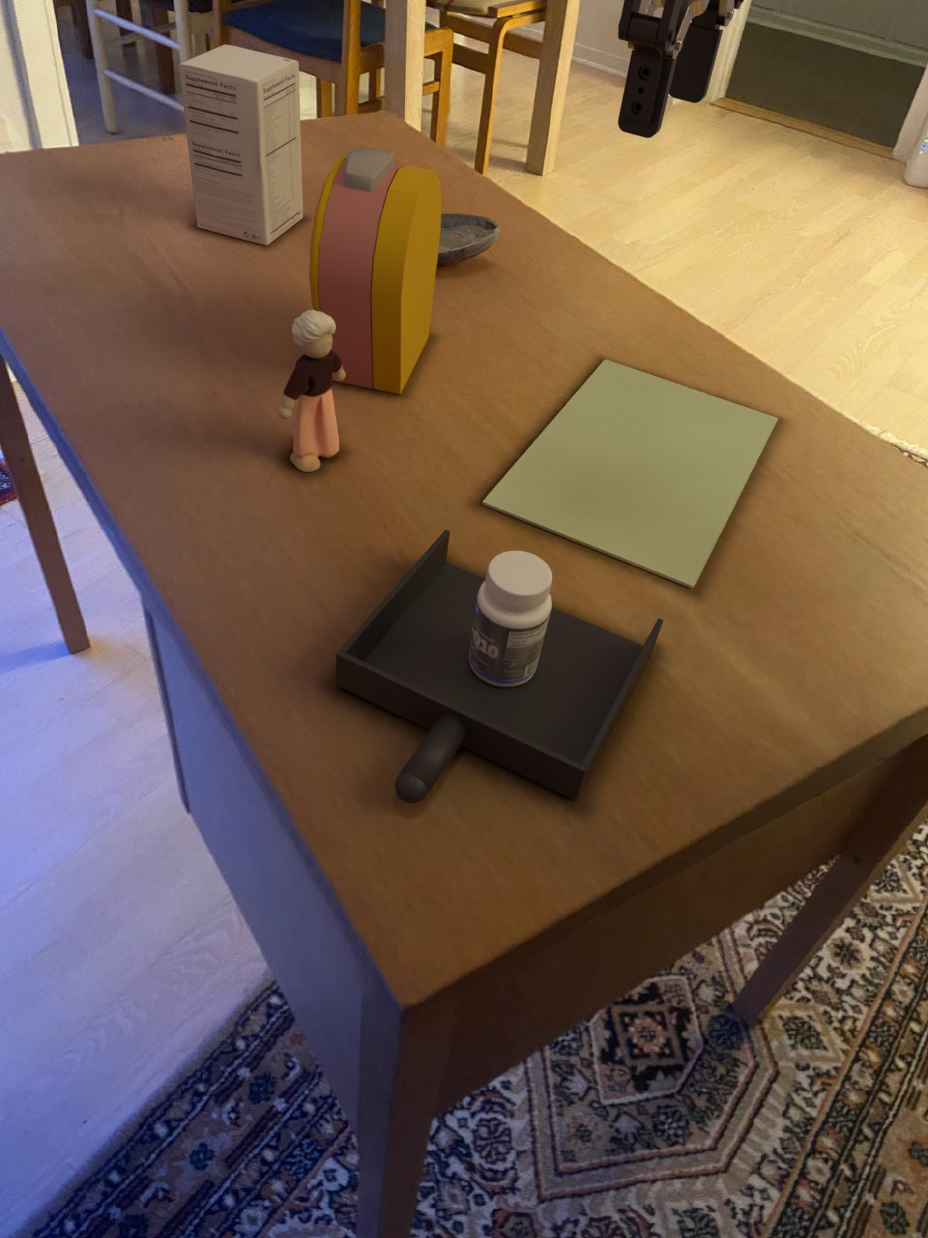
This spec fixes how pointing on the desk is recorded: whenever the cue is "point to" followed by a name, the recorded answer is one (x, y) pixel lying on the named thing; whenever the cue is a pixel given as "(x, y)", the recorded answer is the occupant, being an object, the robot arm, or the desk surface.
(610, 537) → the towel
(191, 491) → the desk surface
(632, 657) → the dustpan
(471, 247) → the grey shallow oval dish
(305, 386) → the grandmother figurine
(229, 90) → the supplement box
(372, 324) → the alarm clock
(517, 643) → the pill bottle
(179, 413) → the desk surface
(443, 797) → the desk surface
